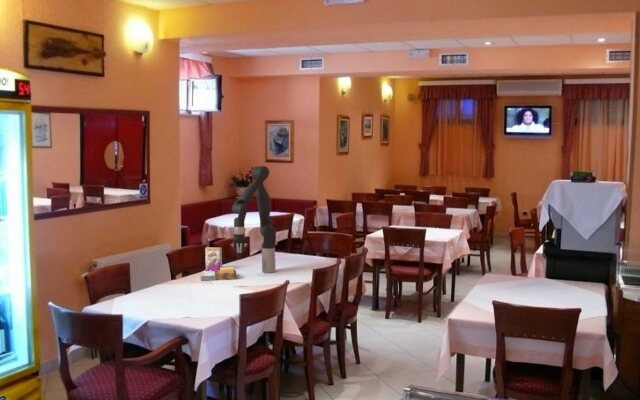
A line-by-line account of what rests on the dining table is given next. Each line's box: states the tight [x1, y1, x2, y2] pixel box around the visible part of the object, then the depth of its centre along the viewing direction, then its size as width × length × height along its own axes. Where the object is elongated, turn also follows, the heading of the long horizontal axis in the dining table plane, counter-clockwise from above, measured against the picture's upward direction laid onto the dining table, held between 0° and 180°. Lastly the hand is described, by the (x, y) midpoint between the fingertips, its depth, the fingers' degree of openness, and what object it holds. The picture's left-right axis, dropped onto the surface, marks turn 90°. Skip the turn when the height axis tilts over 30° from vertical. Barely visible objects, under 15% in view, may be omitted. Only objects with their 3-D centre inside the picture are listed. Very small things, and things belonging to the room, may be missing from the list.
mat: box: [200, 275, 216, 282], centre depth 423 cm, size 9×14×1 cm, turn 12°
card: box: [220, 266, 235, 273], centre depth 425 cm, size 9×6×2 cm, turn 102°
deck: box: [214, 269, 238, 281], centre depth 425 cm, size 14×13×4 cm
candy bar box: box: [204, 246, 223, 272], centre depth 449 cm, size 11×5×16 cm, turn 84°
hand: (238, 258), depth 426 cm, fingers closed
